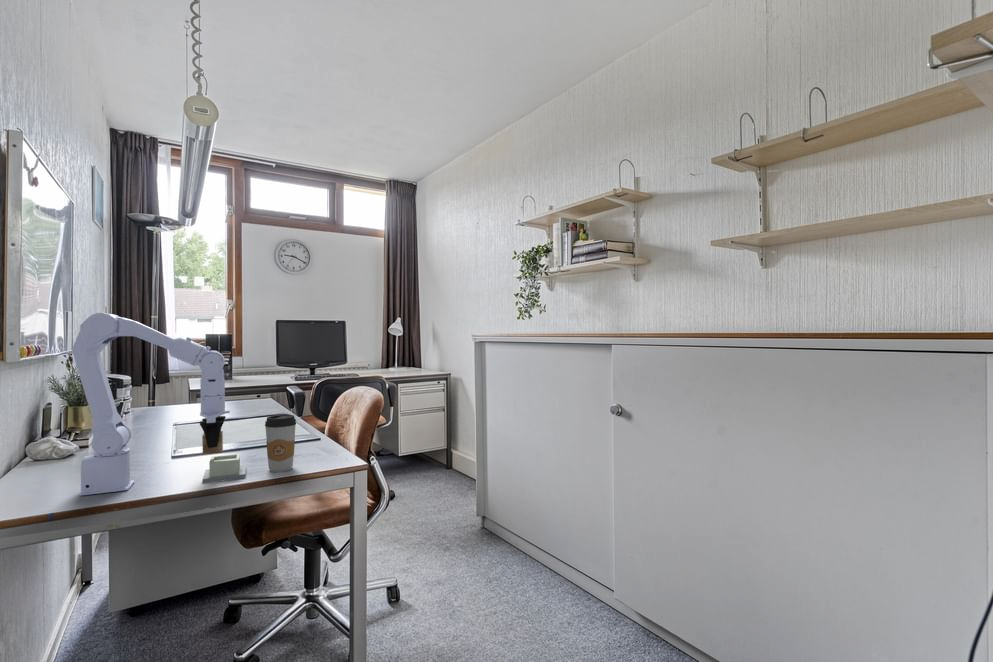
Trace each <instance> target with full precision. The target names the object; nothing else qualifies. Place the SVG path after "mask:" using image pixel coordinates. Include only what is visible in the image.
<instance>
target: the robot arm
mask: <svg viewBox="0 0 993 662" xmlns="http://www.w3.org/2000/svg"><path fill="white" fill-rule="evenodd" d="M119 337H135V338H138V339H141V340H143V341H145V342H148V343H151V344H153V345H155V346H159V347H161V348H164V349H167V351H168V353H169V356H170V357H171V358H174V359H177V360H179V361H181V362H184V363H186V364H189V365H191V366H193V367H197V366H198V367H199V369H200V370H201V371H200V375H201V377H200V382H199V384H200V386H199V387H200V412H199V416H200V417H203V418H202V419H201V420H202V421H200V422H199V426H200V427H201V429H202V431H203V433H204V434H205V437H206V442H207V446H208V448H213V447H217V445H218V441H219V434H220V431H222V427H223V425H224V423H225V419H226V418H227V417H226V414H230V412H231V411H230V409H226V400H225V399H226V398H225V397H226V394H225V393H226V389H225V388H226V384H225V381H226V379H225V371H224V366H225V364H226V361H225V357H224V355H223V354H222V353H220V352H219V351H218V350H215V349H214V350H212V348H211V346H209V345H207V346H205V345H202V344H199V343H198V342H195V341H193V340H194V339H193V338H192V337H191V336H187V337H183V336H179V337H177V338H173V337H171V336H169V335H167V334H165V333H163V332H160V331H158V330H156V329H154V328H152V327H150V326H147V324H146V325H145V324H143V323H141V322H139V321H136V320H133V319H130V318H126V317H121V316H119V315H117V314H114V313H105V312H96V313H93V314H90V316H88V318H86V319H85V320H84V321H83V322H82V323H81V324H80V326H79V332H78V335H77V336H76V338H75V342H74V343H73V346H72V349H71V351H72V354H73V355H72V356H73V359H74V361H75V365H76V369H77V372H78V375H79V377H80V381H81V384H82V388H83V391H84V395H85V399H86V401H87V405H88V408H89V410H90V413H91V417H92V424H91V431H92V439H91V442H90V443H91V445H90V446H91V448H92V449H93V451H94V452H93V454H91V455H84V457H83V458H82V460H81V464H80V465H81V466H80V493H79V496H89V495H90V496H91V495H97V494H104V493H106V494H107V493H113V492H122V491H123V492H124V491H129V489H130V488H131V487H132V486H133V484H134V483H135V480H134V479H131V452H130V451H131V449H130V448H129V446H128V445H127V444H128V443H129V442H130V440H131V438H132V432H131V429H130V428H129V427H128V426H127V425H126V424H125V423H124V420H123V418H122V416H121V415H120V413H119V412H118V409H117V405H116V402H115V400H114V396H113V392H112V389H111V387H110V383H109V379H108V375H107V372H106V369H105V366H104V361H103V360H102V356H101V352H102V351H103V349H105V347H106V346H107V345H108V344H109V343H110V342H112V341H113V340H115V339H117V338H119Z"/></svg>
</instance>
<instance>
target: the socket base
mask: <svg viewBox="0 0 993 662" xmlns="http://www.w3.org/2000/svg"><path fill="white" fill-rule="evenodd" d="M208 468H209V469H205V471H204V473H203V476H202V480H201V481H202V484H206V483H205V482H207V483H215V482H222V480H224V481H231V479H232V480H239V478H240V479H246V475H247V473H246V472H247V465H241V453H233V454H224V455H216V456H215V455H214V456H211V457H210V460H209V467H208ZM214 481H215V482H214Z"/></svg>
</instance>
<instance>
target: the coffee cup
mask: <svg viewBox="0 0 993 662" xmlns="http://www.w3.org/2000/svg"><path fill="white" fill-rule="evenodd" d="M264 422H265V424H264V427H265V436H266V437H265V438H266V454H267V455H266V456H267V464H268V469H269V471H270V472H272V473H281V472H287V471H291V470H292V468H293V467H294V456H295V447H296V446H295V444H296V442H295V441H296V438H295V437H296V425H297V420H296V418H295V415H293V414H275V415H269V416H267V417H266V420H265V421H264Z"/></svg>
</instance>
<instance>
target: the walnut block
mask: <svg viewBox="0 0 993 662" xmlns="http://www.w3.org/2000/svg"><path fill="white" fill-rule="evenodd" d="M223 434H224V433H223V431H222V430H221V431H220V434H219V441H218V445H217V447H213V448H208V446H207V442H206V437H205V434H204V432H203V434H202V436H201V439H202V440H201V441H202V444H201V445H202V455H212V454H213V455H214V454H221V453H223V449H224V442H223V440H224V437H223V436H224V435H223Z"/></svg>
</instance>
